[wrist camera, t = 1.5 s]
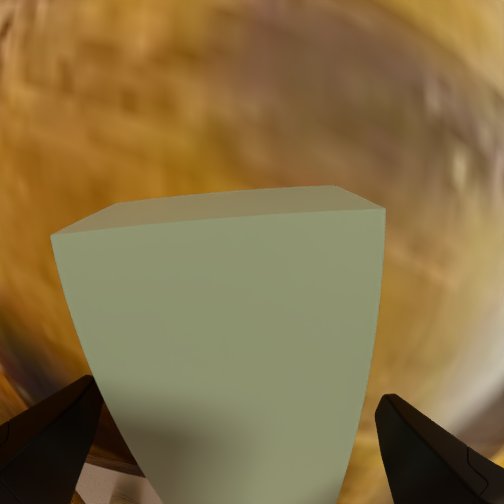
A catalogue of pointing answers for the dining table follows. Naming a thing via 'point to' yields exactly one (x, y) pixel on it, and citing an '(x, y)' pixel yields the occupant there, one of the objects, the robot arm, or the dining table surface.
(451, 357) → the dining table surface
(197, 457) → the board
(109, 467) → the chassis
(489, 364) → the dining table surface
